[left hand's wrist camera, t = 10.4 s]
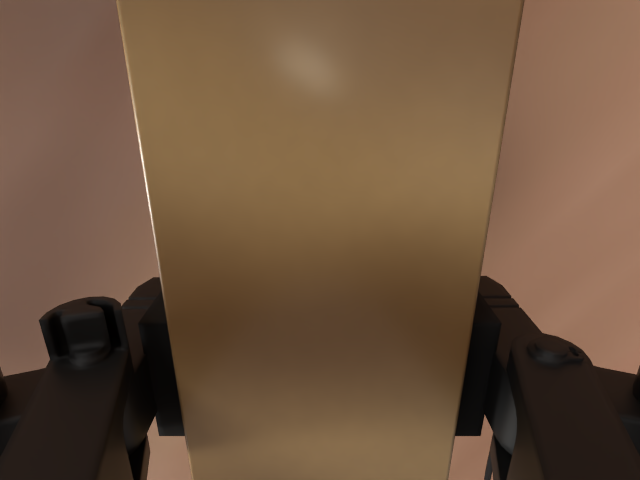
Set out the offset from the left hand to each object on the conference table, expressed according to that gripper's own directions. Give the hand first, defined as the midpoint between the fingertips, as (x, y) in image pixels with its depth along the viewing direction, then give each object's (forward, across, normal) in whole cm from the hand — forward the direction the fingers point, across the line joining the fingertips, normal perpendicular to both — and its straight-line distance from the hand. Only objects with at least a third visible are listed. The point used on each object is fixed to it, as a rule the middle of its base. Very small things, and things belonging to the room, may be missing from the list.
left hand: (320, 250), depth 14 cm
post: (+1, 0, -26) cm, 26 cm away
